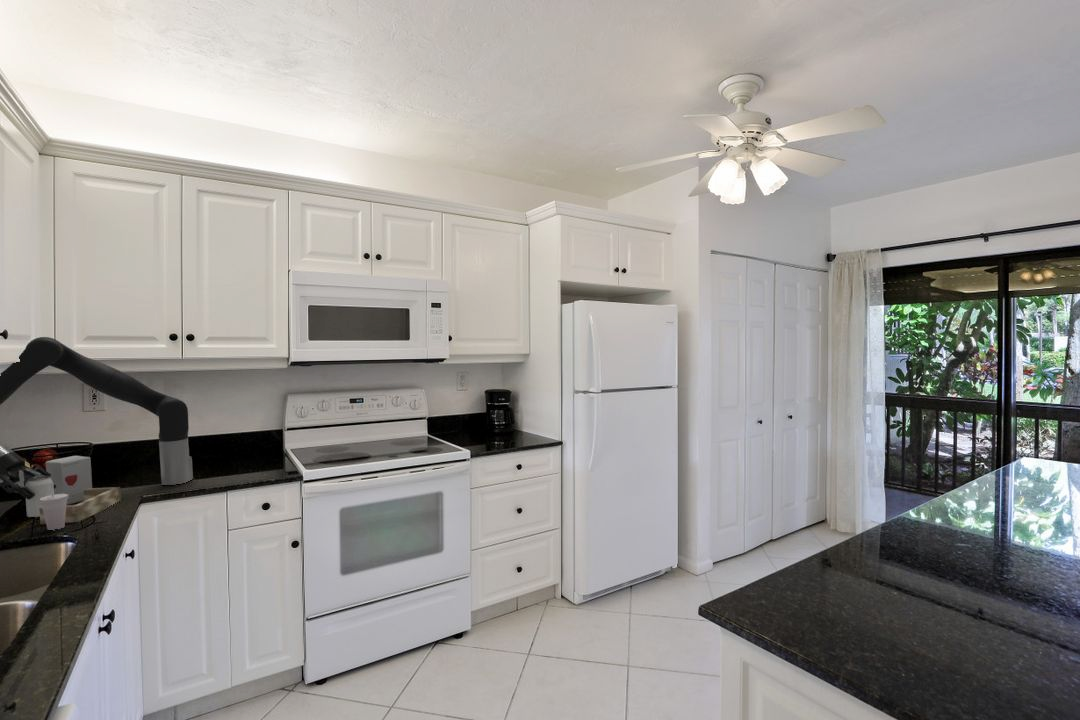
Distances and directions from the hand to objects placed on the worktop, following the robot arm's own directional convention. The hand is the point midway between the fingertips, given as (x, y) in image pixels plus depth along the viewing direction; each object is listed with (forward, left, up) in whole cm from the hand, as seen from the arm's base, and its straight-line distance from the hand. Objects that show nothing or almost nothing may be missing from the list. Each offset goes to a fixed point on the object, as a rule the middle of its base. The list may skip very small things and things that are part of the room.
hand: (43, 493), depth 167 cm
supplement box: (-11, -8, -7) cm, 16 cm away
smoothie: (+6, +19, -7) cm, 21 cm away
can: (+1, -1, -7) cm, 7 cm away
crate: (-6, +10, -7) cm, 13 cm away
